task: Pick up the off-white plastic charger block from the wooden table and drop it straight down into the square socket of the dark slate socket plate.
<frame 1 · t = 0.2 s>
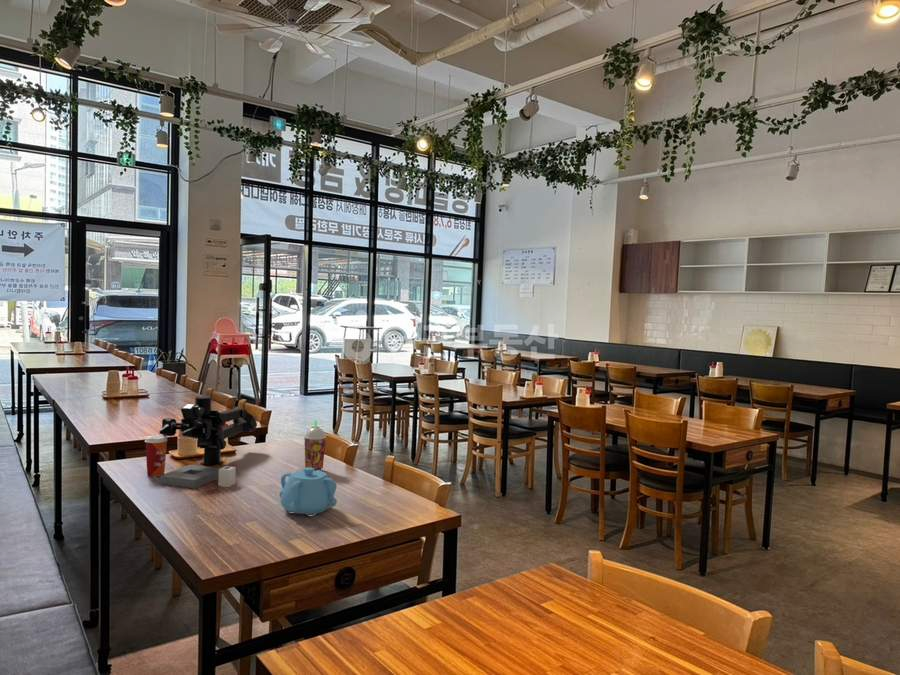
hand: (171, 433, 215), 17 cm above the table, tool horizontal, fingers open, 9 cm apart
paper cup: (155, 475, 222), on the table
decorative pot: (307, 511, 193), on the table
socket plate: (192, 480, 218), on the table
charger block: (226, 484, 215), on the table
smoothie: (313, 471, 237), on the table
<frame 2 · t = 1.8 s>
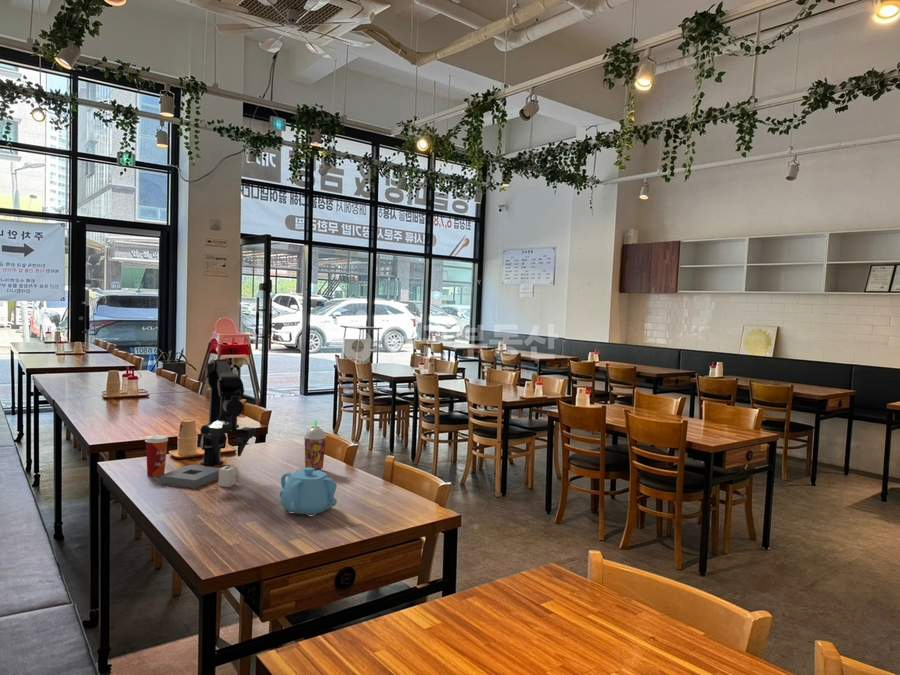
hand: (227, 455, 214), 11 cm above the table, tool pointing down, fingers open, 9 cm apart
nothing on the table moved.
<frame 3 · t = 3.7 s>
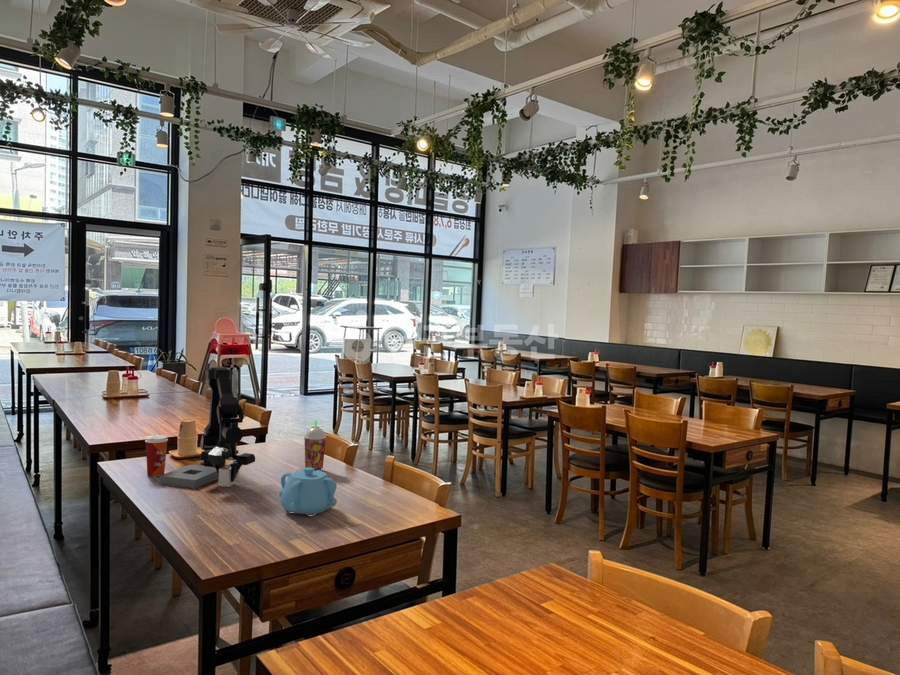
hand: (226, 480, 215), 1 cm above the table, tool pointing down, fingers closed on charger block, 4 cm apart
charger block: (226, 484, 215), on the table, touching gripper
everything else where it was.
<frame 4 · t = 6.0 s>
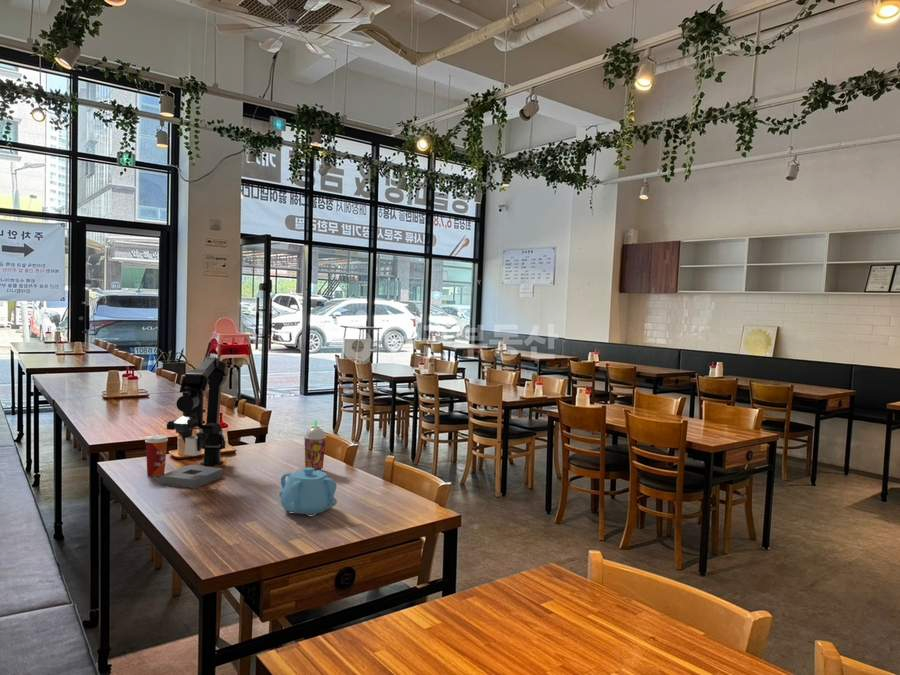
hand: (193, 450, 217), 11 cm above the table, tool pointing down, fingers closed on charger block, 4 cm apart
charger block: (193, 454, 217), point 10 cm above the table, touching gripper
everything else where it was.
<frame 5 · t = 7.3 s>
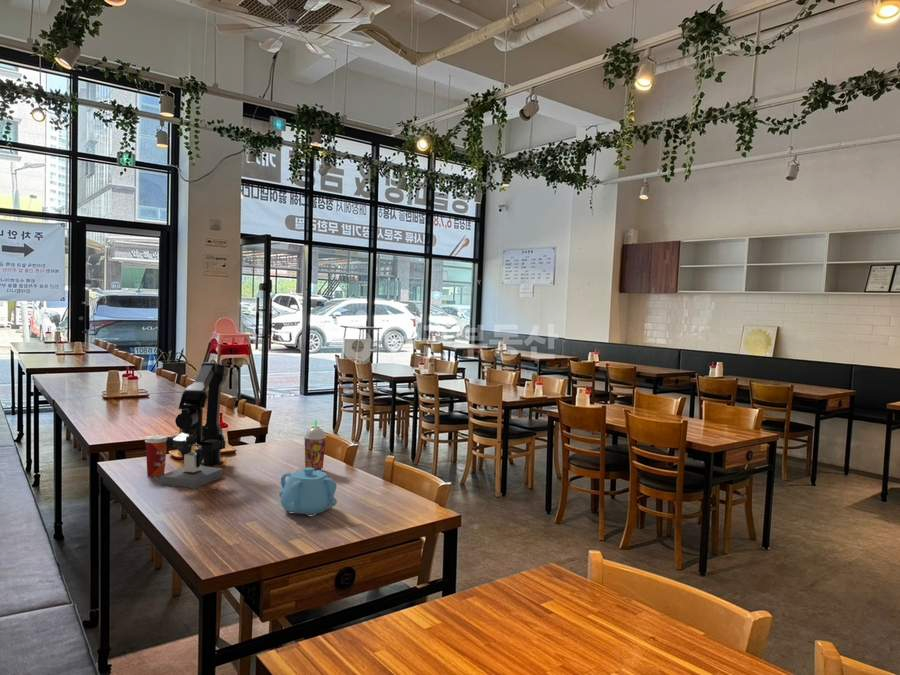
hand: (192, 466, 218), 5 cm above the table, tool pointing down, fingers closed on charger block, 4 cm apart
charger block: (192, 470, 218), point 4 cm above the table, touching gripper
everything else where it was.
when the fingers open (4 cm above the table, at t = 8.4 s): charger block drops 2 cm, resting in socket plate.
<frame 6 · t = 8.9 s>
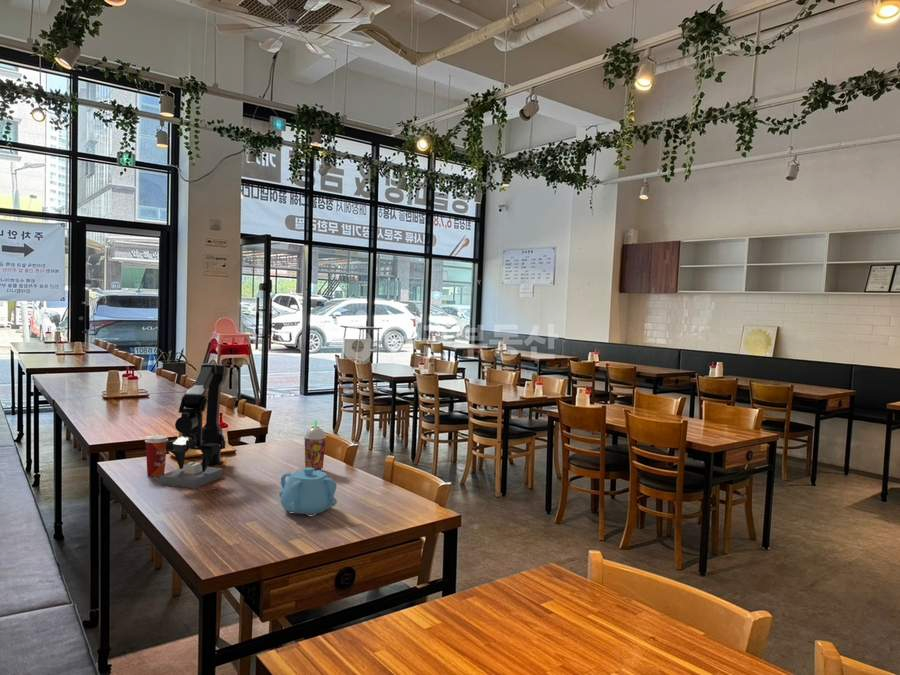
hand: (192, 470, 218), 4 cm above the table, tool pointing down, fingers open, 9 cm apart
charger block: (192, 480, 218), resting in socket plate
everything else where it was.
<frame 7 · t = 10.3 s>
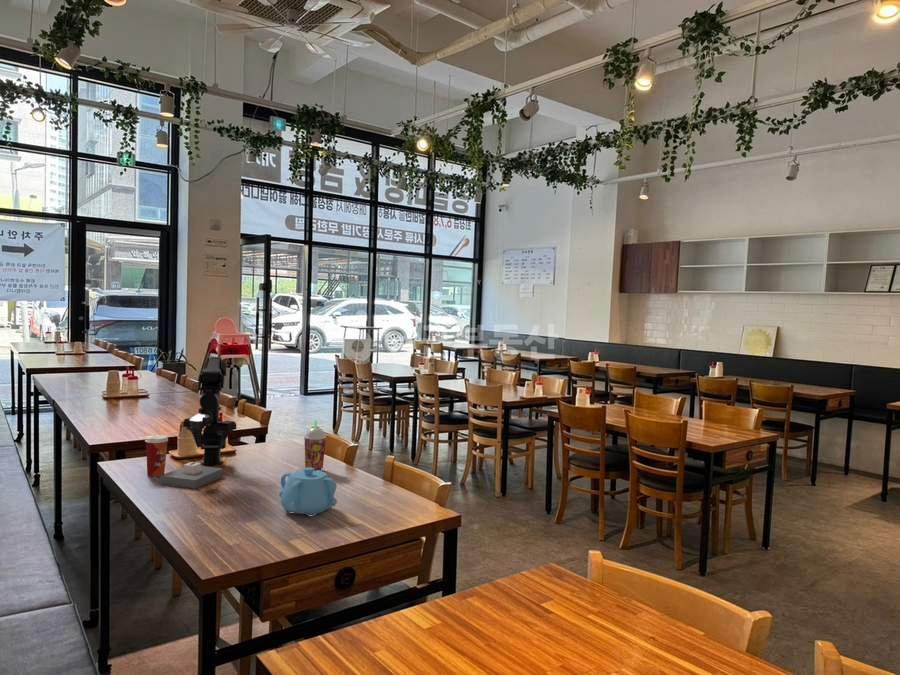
hand: (209, 447, 220), 12 cm above the table, tool pointing down, fingers open, 9 cm apart
nothing on the table moved.
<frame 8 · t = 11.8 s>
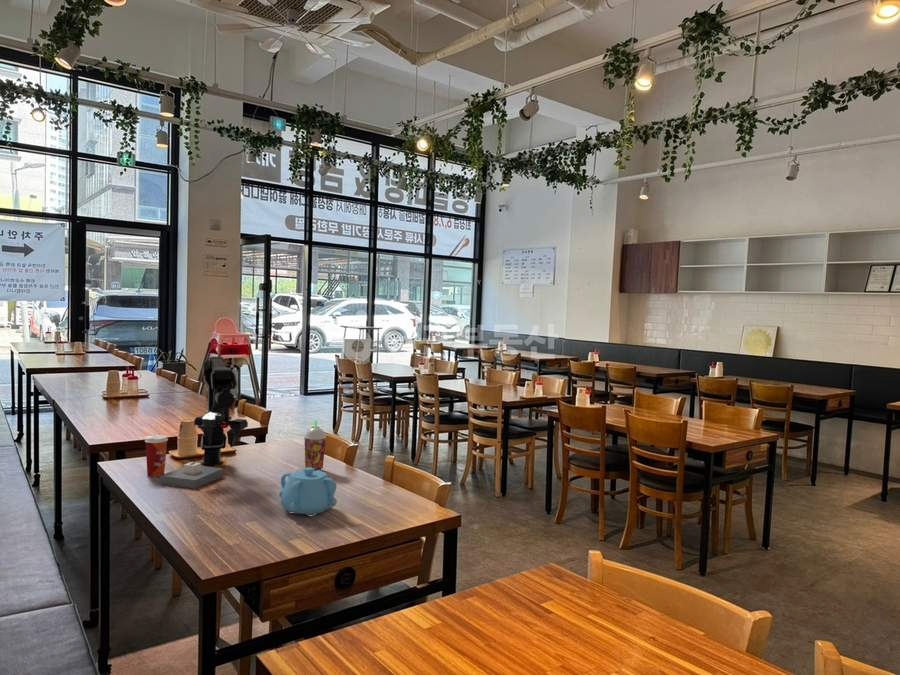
hand: (220, 445, 221), 12 cm above the table, tool pointing down, fingers open, 9 cm apart
nothing on the table moved.
at the end: charger block 0.0 cm off-centre on the socket plate, point 0.0 cm above the socket plate's base; charger block tilted 0°; the gripper is holding nothing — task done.
